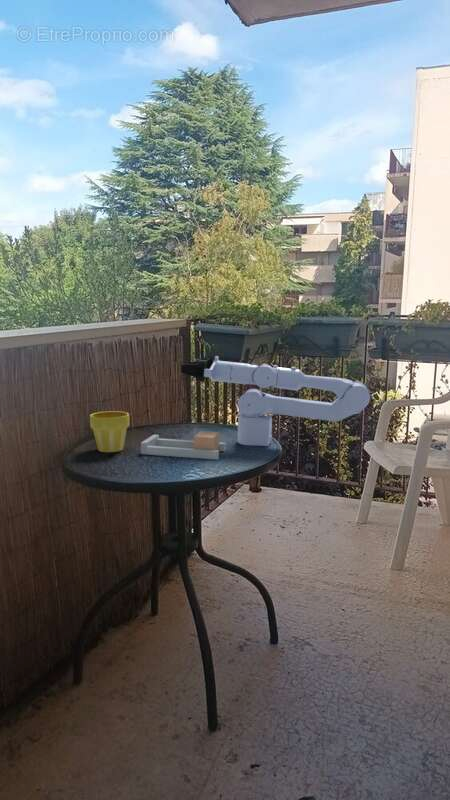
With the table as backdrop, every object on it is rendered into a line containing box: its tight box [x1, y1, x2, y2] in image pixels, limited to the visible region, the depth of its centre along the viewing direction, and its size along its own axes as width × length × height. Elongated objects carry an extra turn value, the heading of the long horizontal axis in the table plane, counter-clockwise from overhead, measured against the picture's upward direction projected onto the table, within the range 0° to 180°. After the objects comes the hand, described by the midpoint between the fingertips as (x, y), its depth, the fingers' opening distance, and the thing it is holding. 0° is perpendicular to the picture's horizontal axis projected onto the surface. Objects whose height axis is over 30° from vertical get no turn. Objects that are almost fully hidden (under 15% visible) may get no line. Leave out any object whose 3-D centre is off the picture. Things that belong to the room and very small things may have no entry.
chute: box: [140, 434, 227, 460], centre depth 138 cm, size 20×14×4 cm
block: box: [193, 430, 220, 450], centre depth 137 cm, size 5×6×5 cm
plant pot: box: [89, 410, 130, 453], centre depth 143 cm, size 10×10×10 cm
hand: (185, 367), depth 150 cm, fingers open, 7 cm apart
